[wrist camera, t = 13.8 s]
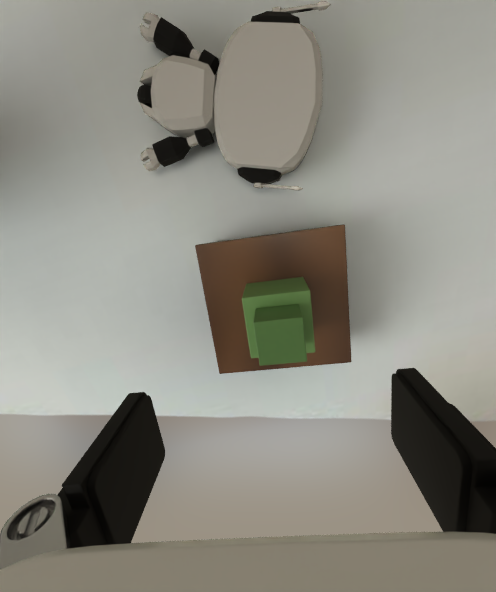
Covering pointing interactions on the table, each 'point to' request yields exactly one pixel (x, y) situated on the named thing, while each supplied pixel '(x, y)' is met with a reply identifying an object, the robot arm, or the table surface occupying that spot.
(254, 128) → the robot toy
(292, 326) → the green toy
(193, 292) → the table surface
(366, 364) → the table surface
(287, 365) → the walnut plinth
